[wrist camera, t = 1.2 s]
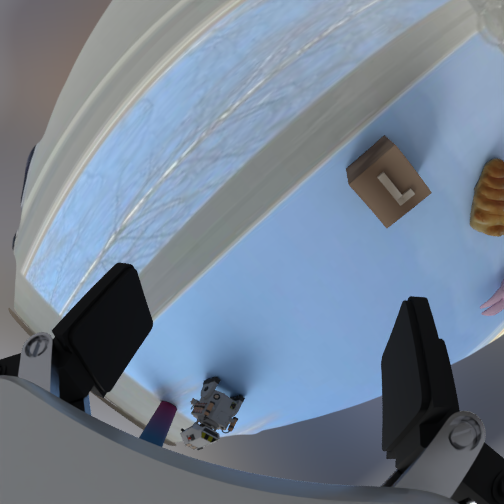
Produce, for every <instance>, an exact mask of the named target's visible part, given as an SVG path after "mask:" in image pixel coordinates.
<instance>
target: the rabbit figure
mask: <svg viewBox="0 0 504 504" xmlns="http://www.w3.org/2000/svg"><path fill="white" fill-rule="evenodd" d="M491 305H492V306H491ZM489 306H491V307H490V308H488V309H487V310H485V311H484V312H482V315H487V316H491V315H495V314H497V313H499V312H500V311H502V310H503V309H504V279H503V281H502V283H501V287H500V288H499V289H498V290H497V291H496V292H495V294H494V295H493V296H492V297H491V298H490V299H489V300H488V301H487V302H485V303H484V304H483V305H481V306H480V309H481V308H485V307H489Z"/></svg>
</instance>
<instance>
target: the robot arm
mask: <svg viewBox="0 0 504 504" xmlns="http://www.w3.org/2000/svg"><path fill="white" fill-rule="evenodd" d="M152 327H153V320H152V317H151V314H150V311H149V308H148V305H147V302H146V299H145V296H144V293H143V289H142V286H141V283H140V280H139V276H138V273H137V270H136V269H134V267H133V265H131V264H126V263H117V264H115V265H114V266H113V267H112V268H111V269H110V270H109V271H108V272H107V273H106V274H105V275H104V276H103V277H102V278H101V279H100V280H99V281H98V282H97V283H96V284H95V285H94V286H93V287H92V288H91V289H90V290H89V291H88V292H87V293H86V294H85V295H84V296H83V297H82V299H81V300H80V301H79V302H78V303H77V304H76V305H75V306H74V307H73V308H72V309H71V310H70V311H69V312H68V313H67V314H66V316H65V317H64V318H63V319H62V320H61V321H60V322H59V323H58V324H57V325H56V327H55V328H54V329H53V330H52V332H53V334H54V335H55V338H54V339H52V337H51V335H50V334H48V333H45V332H41V333H37V334H34V335H33V336H31V337H30V338H29V339H28V340H27V341H26V342H25V343H24V345H23V348H22V352H21V353H20V354H17V355H13V356H10V357H7V358H4V359H1V360H0V504H504V458H503V457H501V456H500V455H499V454H498V453H496V452H495V451H494V450H493V449H492V448H491V447H489V446H488V445H487V444H486V443H485V442H484V441H485V433H486V431H485V427H484V425H483V423H482V421H481V419H480V418H479V417H478V416H477V415H476V414H473V413H471V412H467V411H459V405H458V399H457V394H456V388H455V384H454V378H453V374H452V369H451V365H450V361H449V357H448V353H447V349H446V345H445V342H444V340H442V339H439V338H438V334H437V330H436V326H435V323H434V319H433V316H432V313H431V309H430V306H429V303H428V300H427V298H425V297H412V296H411V297H409V298H408V301H403V302H402V305H401V308H400V311H399V314H398V316H397V319H396V322H395V325H394V327H393V330H392V333H391V335H390V338H389V341H388V343H387V346H386V348H385V351H384V353H383V356H382V361H381V370H382V397H383V398H382V399H383V400H382V401H383V428H382V450H383V451H387V459H396V468H397V469H396V471H394V473H393V474H392V475H391V476H390V477H389V478H388V479H387V480H386V481H385V482H384V483H383V484H382V485H381V486H380V487H375V486H351V485H334V484H322V483H312V482H304V481H296V480H289V479H282V478H276V477H269V476H264V475H259V474H254V473H248V472H244V471H240V470H235V469H231V468H227V467H223V466H220V465H216V464H212V463H209V462H205V461H202V460H198V459H195V458H192V457H188V456H186V455H183V454H180V453H177V452H174V451H171V450H168V449H165V448H163V447H160V446H157V445H155V444H152V443H150V442H147V441H145V440H142V439H140V438H137V437H135V436H133V435H130V434H128V433H126V432H124V431H121V430H119V429H117V428H115V427H113V426H111V425H109V424H106V423H105V422H102V421H100V420H98V419H97V418H95V417H92V416H91V410H90V402H89V394H88V393H89V392H90V390H91V391H92V392H93V393H94V394H96V395H98V396H100V397H102V398H104V396H105V395H106V393H107V392H110V391H111V390H112V388H113V387H114V385H115V384H116V382H117V380H118V379H119V377H120V376H121V374H122V373H123V371H124V370H125V368H126V367H127V365H128V364H129V362H130V361H131V359H132V358H133V356H134V355H135V353H136V352H137V350H138V349H139V347H140V346H141V344H142V343H143V341H144V340H145V338H146V337H147V335H148V334H149V332H150V331H151V329H152Z"/></svg>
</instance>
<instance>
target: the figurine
mask: <svg viewBox="0 0 504 504" xmlns="http://www.w3.org/2000/svg"><path fill="white" fill-rule="evenodd" d="M219 382H220V379H219V378H217V377H214V378H212V379H210V378H209V379H206V380H205V381H204V383H203V388H202V390H201V399H200V401H198V400H195V399H194V398H193V399H192V401H190V402H191V404H193V406H194V405H195V406H194V407H193V406H192V407H193V408H194V409H193V411H192V412H191V414H192V415H193V416H194V417H195V418H197V422H195V423H194V424H193V426H191V427H189V428H187V429H186V430H184V429H181V431H182V433H181V437H182V439H183V442H184V444H185V445H186V446H188V447H190V448H192V449H194V450H195V449H197V450H200V449H203V447H205V446H207V445H210V444H212V443H214V442H217V441H218V439H219V433H217V432H215V431H216V429H222V432H223V430H226V428H227V426H228V424H229V423H230V426H229V428H228V430H229V431H228V432H230V431H232V430H233V428H234V426H235V424H236V422H237V420H238V418H236V417H233V416H235V415H236V414H237V412H238V411H239V409H240V407H241V404H242V402H243V401H244V399H245V398H244V397H243V396H241V395H239V396H236V397H230V398H229V397H228V396H227V395H225V394H224V393H221V392H219V391H216V390H215V389H216V386H217V384H219ZM191 409H192V408H191ZM232 417H233V418H232ZM198 422H200V423H201V424H200V425H199V424H198ZM213 429H214V430H213ZM228 432H223V433H228Z"/></svg>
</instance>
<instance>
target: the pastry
mask: <svg viewBox="0 0 504 504" xmlns="http://www.w3.org/2000/svg"><path fill="white" fill-rule="evenodd" d="M474 191H475V192H474V197H473V202H472V207H471V213H470V226H471V227H472V228H473V229H475V230H477V231H478V232H483V233H485V234H487V235H491V236H501V235H504V162H503V161H502V160H501V159H498V158H495V159H492V160H490V161H489V162H487V163H486V164H485V166H484V168H483V171H482V174H481V176H480V178H479V181H478V183H477V184H476V186H475V188H474Z"/></svg>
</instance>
